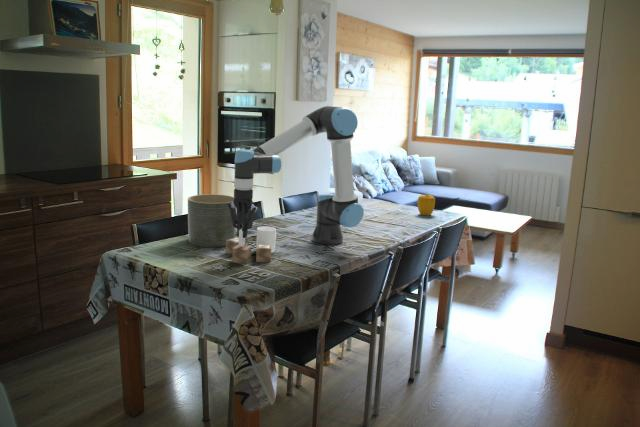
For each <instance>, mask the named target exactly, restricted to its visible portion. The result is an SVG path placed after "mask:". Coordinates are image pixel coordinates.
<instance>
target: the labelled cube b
mask: <svg viewBox="0 0 640 427" xmlns="http://www.w3.org/2000/svg"><path fill="white" fill-rule="evenodd" d="M256 245H257V244H256ZM255 250H256V254H255V257H256V258H255V262H256V263H271V261H272V253H271V245H257V249H255Z"/></svg>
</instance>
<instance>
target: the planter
mask: <svg viewBox="0 0 640 427" xmlns="http://www.w3.org/2000/svg"><path fill="white" fill-rule="evenodd" d="M233 200H234V196H233V195H227V194H215V193H214V194H212V193H211V194H210V193H208V194H196V195H191V196H188V198H187V226H188V227H187V228H188V229H187V231H188V243H189V244H191V245H193V246H197V247H202V248H221V247H226V240H229V239H233V238H237V236H236V235H237V234H236V233H237V228H234V227H233V223H232V218H231V213H230V209H229V207H228V204H231V203H233ZM235 209H236V214H237V208H236V207H235Z"/></svg>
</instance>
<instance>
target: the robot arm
mask: <svg viewBox="0 0 640 427" xmlns="http://www.w3.org/2000/svg"><path fill="white" fill-rule="evenodd" d="M357 128H358V117H357V115H356V114H355V112H354V111H353V110H352V109H351V108H349V107H343V106H331V105H327V106H323V107H319V108H318V109H316V110H314V111H312V112H310V113H309V114H307V115H305V116H303V117H302V119H301V121H300V122H298V123H296V124H294V125H293V126H291V127H290V128H287V129H285V130H284V131H283V132H281V133H279V134H278V135H276V136H275V137H272V138H271V139H269V140H267V141H266V142H264V143H262V144H260V145H259V146H257V147H256V148H254V149H237V150H236V151H235V155H234V180H233V181H234V184H233V186H234V188H233V197H234V200H233V203H231V204H228V207H229V209H230V213H231V218H232V223H233V227H234V228H236V233H237V234H236V235H237V236H236V238H239V246H243V245H245V240H246V238H247V237H248V230H250V229H252V228H253V225H254V221H255V217H256V214H257V211H258V210H259V207H258V206H255V205H254V202H253V197H254V196H253V195H254V191H253V188H254V176H255V175H254V174H256V175H257V174H276V173H279V172H281V169H282V158H281V157H280V156H279V155H281V154H282V153H284V152H286V151H287V150H289V149H291V148H293V147H294V146H295V145H297V144H299V143H301V142H303V141H304V140H306V139H308V138H309V137H315V136H316V135H318V134H321V133H326V139H327V141H328V142H329V143H330V145H331V146H330V147H331V160H332V172H333V183H334V193H320V194H318V196H317V201H316V203H317V205H316V221H315V222H316V225H315V226H314V230H313V233H312V235H311V236H312V237H311V241H312V242H314V243H316V244H321V245H340V244H342V243H343V242H344V235H343V231H342V228H341V227H345V228H348V229H349V228H351V229H352V228H355V227H357V226H358V225H359V224H361V221H362V220H363V218H364V214H365V212H364V208H363V206H362V205H361V204H360V203H359V197H358V195H357V194H356V193H355V188H354V174H353V161H352V160H353V159H352V148H351V147H352V145H351V141H352V140H353V138H354V133H356V130H357ZM235 207H236V208H237V214H236V209H235Z"/></svg>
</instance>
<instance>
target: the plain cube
mask: <svg viewBox="0 0 640 427" xmlns="http://www.w3.org/2000/svg"><path fill="white" fill-rule="evenodd" d="M250 261H252V245H246V246H245V245H243V246H239V245H237V246H235V247H234V248H233V255H232V263H236V264H244V265H247V264H248V263H249V262H250Z"/></svg>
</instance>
